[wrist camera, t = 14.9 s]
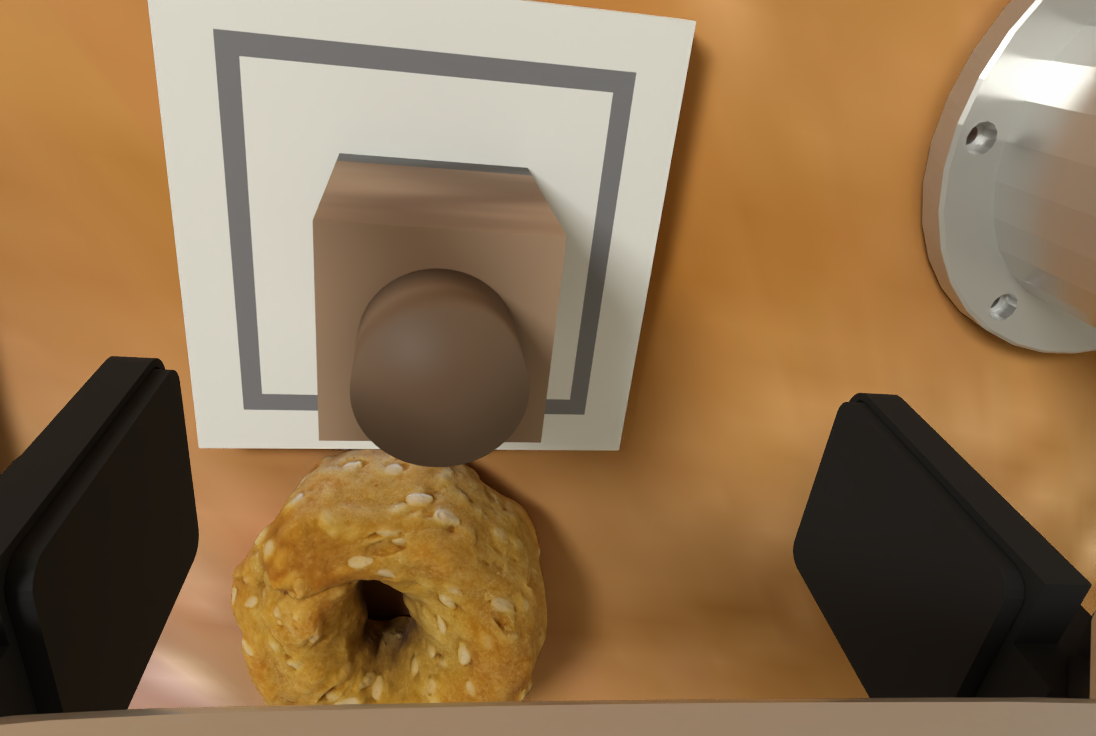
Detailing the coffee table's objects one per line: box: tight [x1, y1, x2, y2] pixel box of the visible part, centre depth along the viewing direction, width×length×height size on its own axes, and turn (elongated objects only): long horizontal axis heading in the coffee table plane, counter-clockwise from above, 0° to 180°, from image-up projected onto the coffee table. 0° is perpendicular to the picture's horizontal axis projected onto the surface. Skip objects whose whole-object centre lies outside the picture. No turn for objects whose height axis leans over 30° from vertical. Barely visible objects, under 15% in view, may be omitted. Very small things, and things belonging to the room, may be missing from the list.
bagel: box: [231, 449, 548, 706], centre depth 24 cm, size 10×11×5 cm
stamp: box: [313, 153, 567, 467], centre depth 16 cm, size 4×4×8 cm
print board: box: [148, 0, 696, 450], centre depth 20 cm, size 12×12×1 cm
